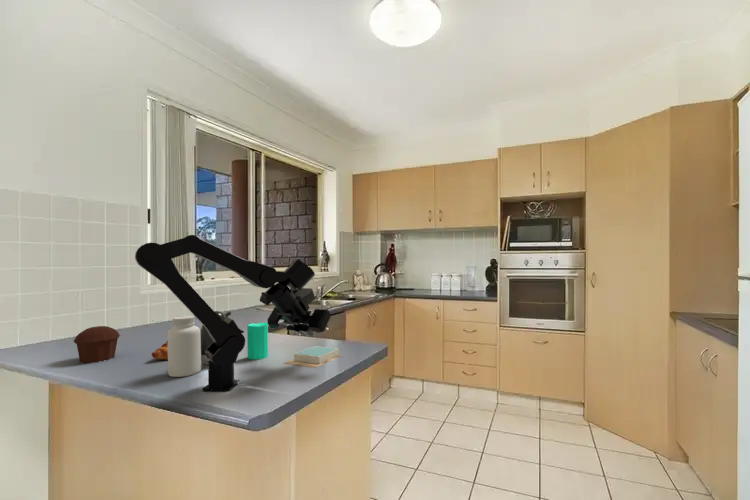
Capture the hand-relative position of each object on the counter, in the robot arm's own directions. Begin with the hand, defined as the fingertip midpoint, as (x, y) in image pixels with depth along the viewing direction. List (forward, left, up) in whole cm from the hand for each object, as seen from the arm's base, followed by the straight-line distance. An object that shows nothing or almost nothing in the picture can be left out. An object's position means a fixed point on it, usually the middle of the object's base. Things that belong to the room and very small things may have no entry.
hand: (311, 335), depth 110 cm
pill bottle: (-10, +33, -8) cm, 35 cm away
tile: (-2, +1, -6) cm, 7 cm away
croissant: (+11, +44, -8) cm, 46 cm away
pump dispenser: (0, +29, -8) cm, 30 cm away
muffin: (+5, +69, -8) cm, 69 cm away
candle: (+4, +18, -8) cm, 20 cm away
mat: (+1, 0, -8) cm, 8 cm away
